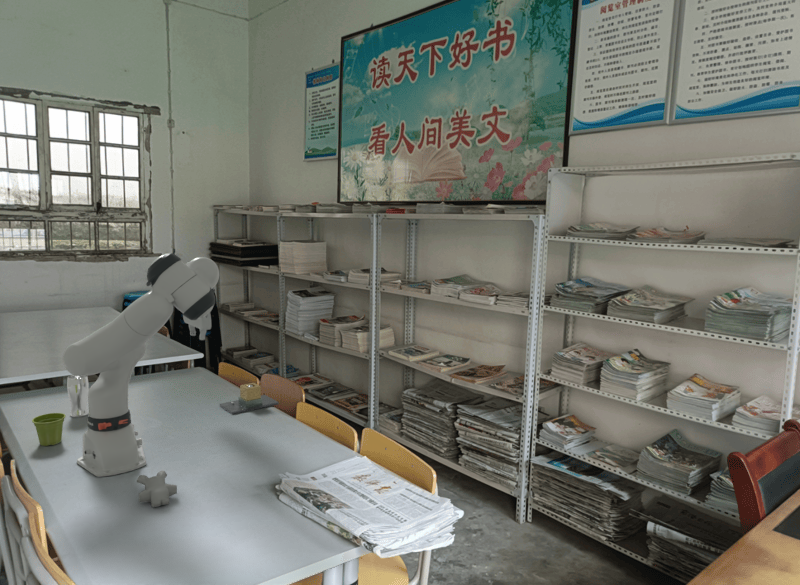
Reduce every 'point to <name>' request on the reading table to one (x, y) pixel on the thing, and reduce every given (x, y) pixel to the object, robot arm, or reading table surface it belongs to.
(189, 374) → the reading table surface
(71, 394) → the beer glass
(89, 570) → the reading table surface
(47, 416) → the plant pot
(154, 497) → the grey chunky knobbed piece
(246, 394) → the tan square sleeve
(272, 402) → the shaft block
